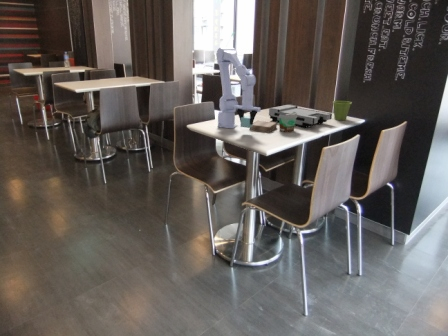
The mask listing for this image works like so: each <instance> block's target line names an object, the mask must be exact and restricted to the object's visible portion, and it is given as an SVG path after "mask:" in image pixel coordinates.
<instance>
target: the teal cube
mask: <svg viewBox="0 0 448 336" xmlns="http://www.w3.org/2000/svg"><path fill="white" fill-rule="evenodd" d="M252 126H253V124H252V125H250V115H244V116H243V117H241V122H240V128H249V129H250V127H252Z"/></svg>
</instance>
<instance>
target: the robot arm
mask: <svg viewBox="0 0 448 336" xmlns="http://www.w3.org/2000/svg"><path fill="white" fill-rule="evenodd" d="M216 60H217V62H216V63H217V65H218V66H219V73H220V81H221V82H220V83H221V87H222V96H221V97H220V98H219V105H218V106H219V112H218V113H217V114H218V115H217V128H225V129H226V128H227V129H234V128H235V127H237V126H238V125H237V124H235V123H236V121H235V120H236V118H235V117H236V115H235V114H238V118H239V121H240V123H241V117H243V116H245V111H250V112H249V116H250V125H252V124H253V123H254V122H255V117H256V115H257V114H258V113H260V112H261V111H262V110H261V109H262V108H261V107H257V106H254V105H253V104H254V86H255V85H256V83H257V78H256V76H255V74H252V73H250V71H249V70H248V69H247V66H246V65H244V64H242V63H241V61H240V60H239V58H238V52H237V50H236V48H235V47H219V48H217V51H216ZM230 65H233V67H234V68H235V73H236V75H237V76H238V77H239V79H240V86H241V90H242V92H241V96H242V97H241V105H239V102H238V101H237V96H235V95H234V94H233V90H232V84H231V77H230V70H229V69H230V68H229V66H230Z"/></svg>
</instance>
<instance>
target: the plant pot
mask: <svg viewBox="0 0 448 336" xmlns="http://www.w3.org/2000/svg"><path fill="white" fill-rule="evenodd" d="M352 103H353V102H352V101H347V100H334V101H332V105H333V117H334V120H337V121H347V120H346V119H348V118H347V117H348V114H349V110H350V108H351V105H352Z"/></svg>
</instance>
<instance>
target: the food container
mask: <svg viewBox="0 0 448 336" xmlns="http://www.w3.org/2000/svg"><path fill="white" fill-rule="evenodd" d="M296 118H297V113H296V112H293V113H292V114H285V115H283V114H279V124H278V125H279V132H280V133H293V132H294V131H295V129H296V128H295V127H296V126H295V122H296Z"/></svg>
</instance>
